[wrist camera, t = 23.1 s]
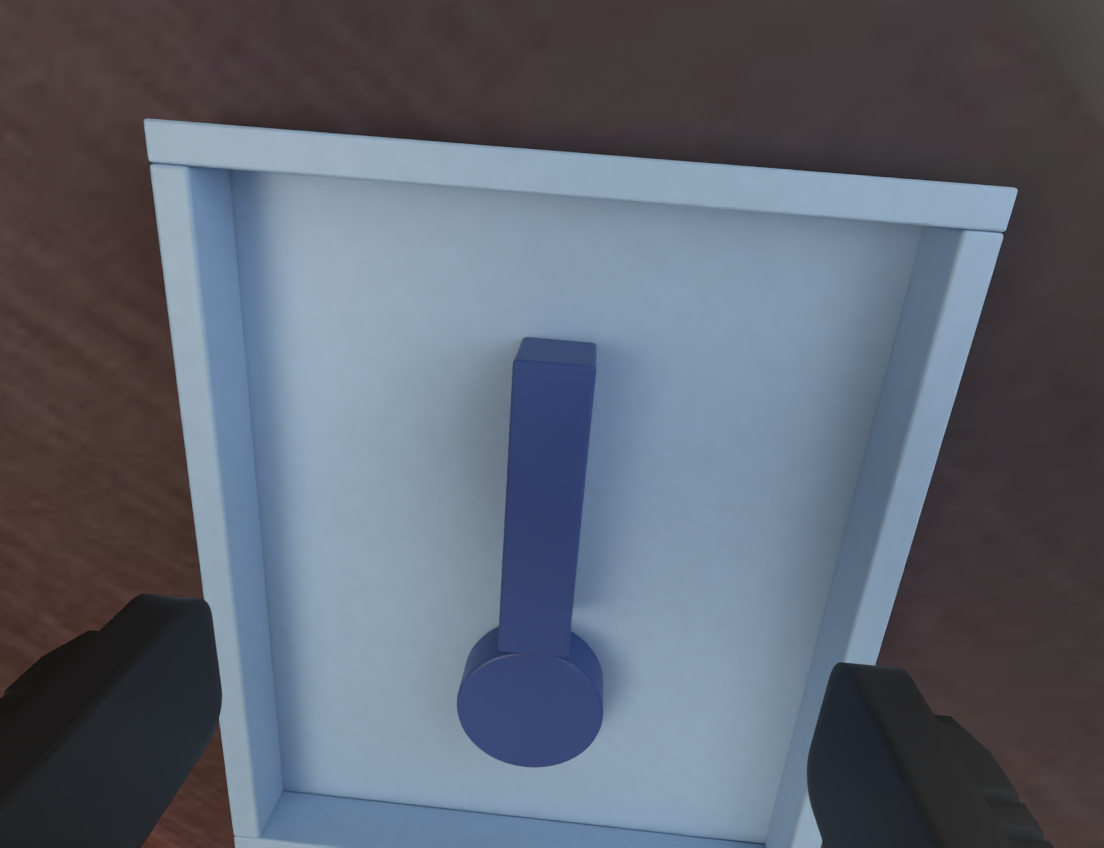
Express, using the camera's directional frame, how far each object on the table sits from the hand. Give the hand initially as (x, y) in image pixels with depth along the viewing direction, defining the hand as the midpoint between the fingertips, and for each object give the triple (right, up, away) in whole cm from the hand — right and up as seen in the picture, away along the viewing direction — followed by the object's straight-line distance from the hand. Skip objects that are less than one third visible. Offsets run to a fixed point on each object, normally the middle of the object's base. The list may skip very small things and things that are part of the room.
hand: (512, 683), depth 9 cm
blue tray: (0, 0, +7) cm, 7 cm away
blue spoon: (0, 0, +7) cm, 7 cm away
